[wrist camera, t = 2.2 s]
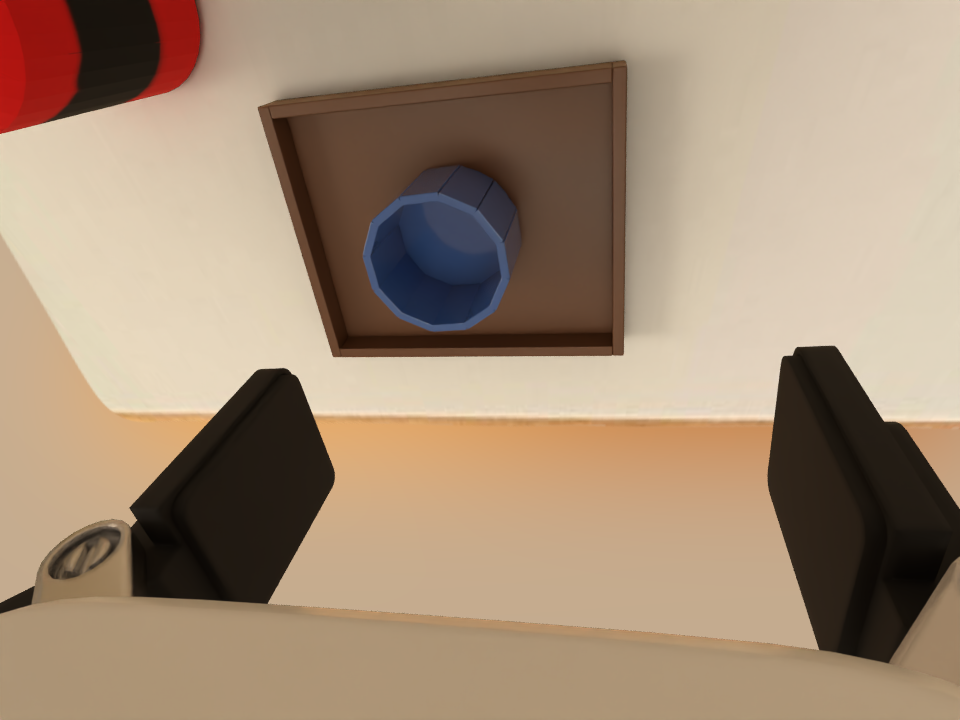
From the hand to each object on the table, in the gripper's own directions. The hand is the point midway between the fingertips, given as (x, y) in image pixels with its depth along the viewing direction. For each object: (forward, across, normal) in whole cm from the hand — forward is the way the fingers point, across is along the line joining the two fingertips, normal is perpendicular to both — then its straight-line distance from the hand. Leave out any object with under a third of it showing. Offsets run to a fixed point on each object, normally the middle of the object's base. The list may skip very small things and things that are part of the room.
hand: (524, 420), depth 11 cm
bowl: (+20, +6, +3) cm, 21 cm away
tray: (+20, +6, +3) cm, 22 cm away
